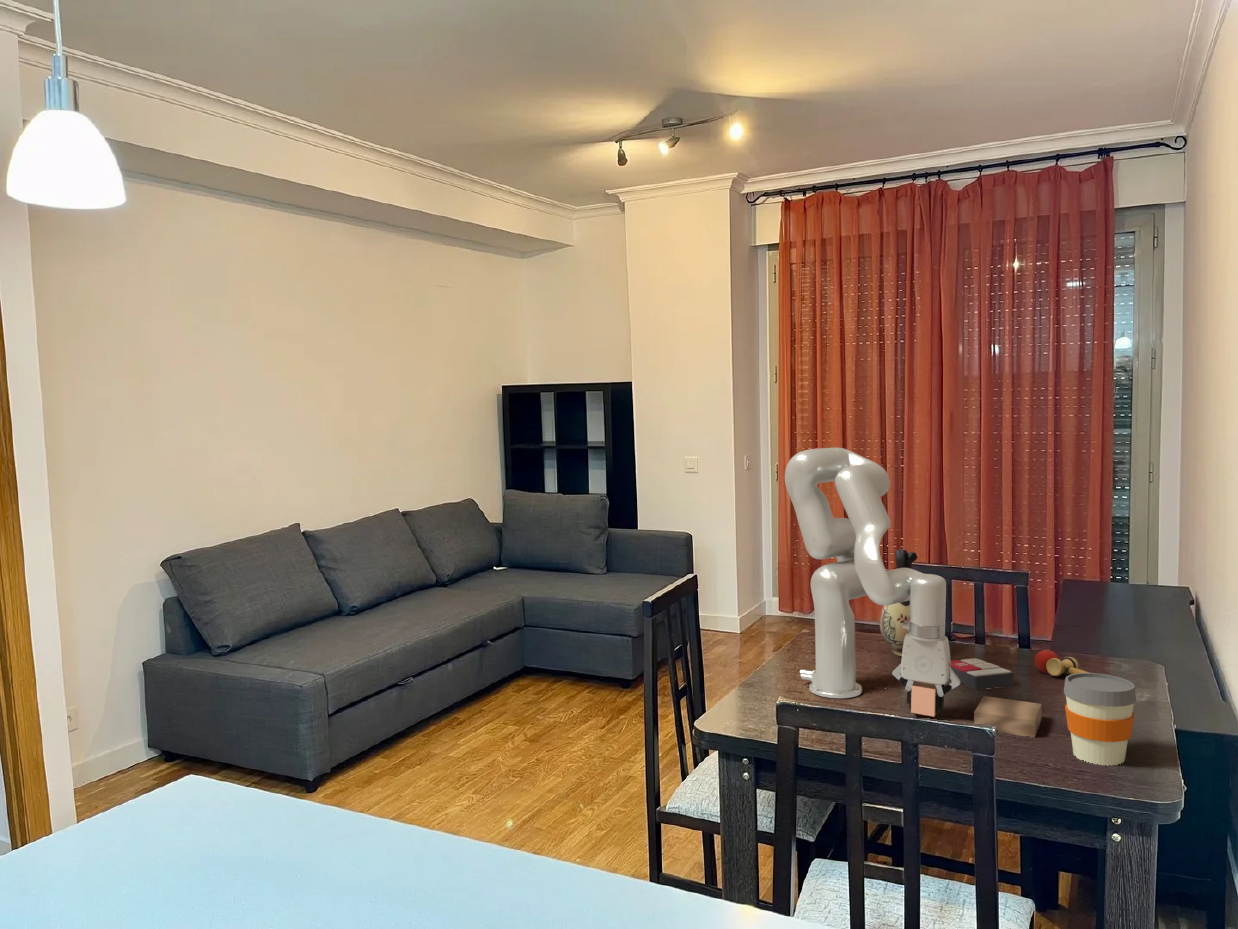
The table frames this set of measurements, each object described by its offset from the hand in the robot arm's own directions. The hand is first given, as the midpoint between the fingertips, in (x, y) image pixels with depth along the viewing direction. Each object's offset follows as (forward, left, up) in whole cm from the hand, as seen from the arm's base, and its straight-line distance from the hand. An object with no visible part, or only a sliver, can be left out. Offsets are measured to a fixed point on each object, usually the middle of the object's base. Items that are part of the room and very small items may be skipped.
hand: (925, 708), depth 200 cm
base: (+17, +4, -2) cm, 17 cm away
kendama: (+26, +44, -2) cm, 51 cm away
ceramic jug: (-15, +49, -2) cm, 51 cm away
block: (0, 0, -1) cm, 1 cm away
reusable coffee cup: (+35, -7, -2) cm, 36 cm away
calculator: (+5, +33, -3) cm, 34 cm away
